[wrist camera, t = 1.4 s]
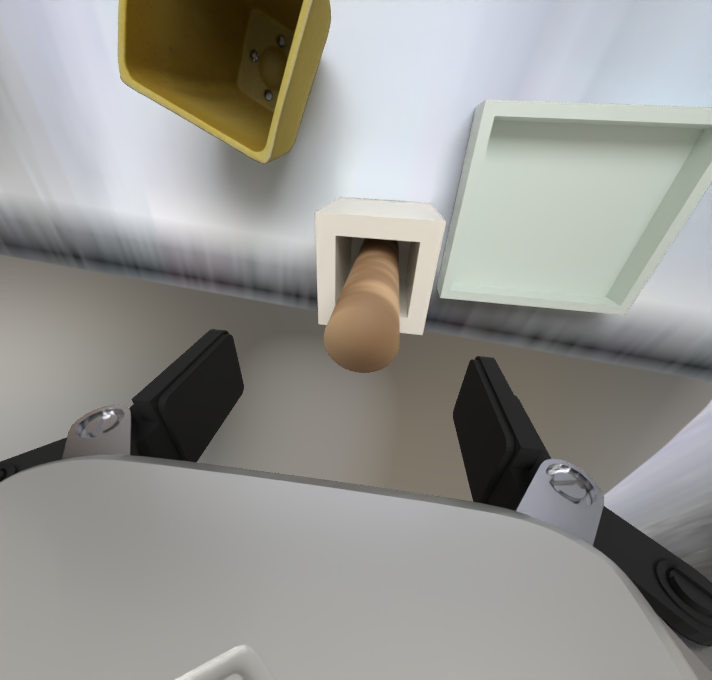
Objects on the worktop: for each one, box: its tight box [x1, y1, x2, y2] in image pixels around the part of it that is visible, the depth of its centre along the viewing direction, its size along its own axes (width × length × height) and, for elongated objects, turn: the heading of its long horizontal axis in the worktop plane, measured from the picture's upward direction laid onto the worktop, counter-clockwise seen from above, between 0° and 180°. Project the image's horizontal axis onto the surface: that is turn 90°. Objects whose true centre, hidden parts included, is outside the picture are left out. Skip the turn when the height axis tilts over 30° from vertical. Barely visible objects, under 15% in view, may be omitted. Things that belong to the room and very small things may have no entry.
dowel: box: [324, 238, 400, 373], centre depth 19 cm, size 3×3×16 cm
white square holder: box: [315, 197, 446, 335], centre depth 23 cm, size 8×8×9 cm
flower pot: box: [118, 0, 331, 164], centre depth 17 cm, size 9×9×9 cm
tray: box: [437, 100, 712, 315], centre depth 22 cm, size 16×14×3 cm
